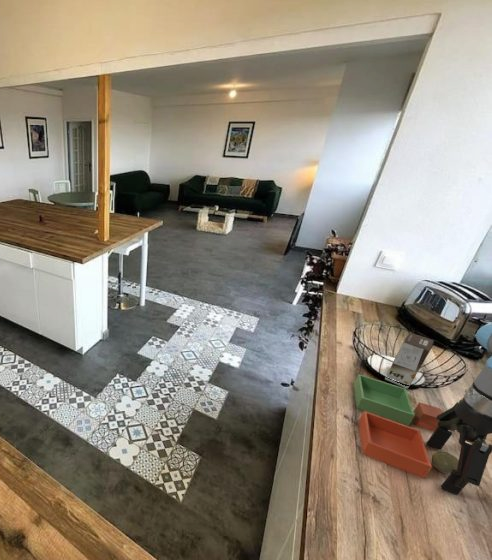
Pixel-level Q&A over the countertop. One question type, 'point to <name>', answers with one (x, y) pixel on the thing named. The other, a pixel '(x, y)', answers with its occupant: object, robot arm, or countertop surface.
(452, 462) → the lime
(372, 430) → the terracotta bin
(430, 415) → the block
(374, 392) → the green bin
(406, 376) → the coffee box
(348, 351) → the countertop surface
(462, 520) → the countertop surface
